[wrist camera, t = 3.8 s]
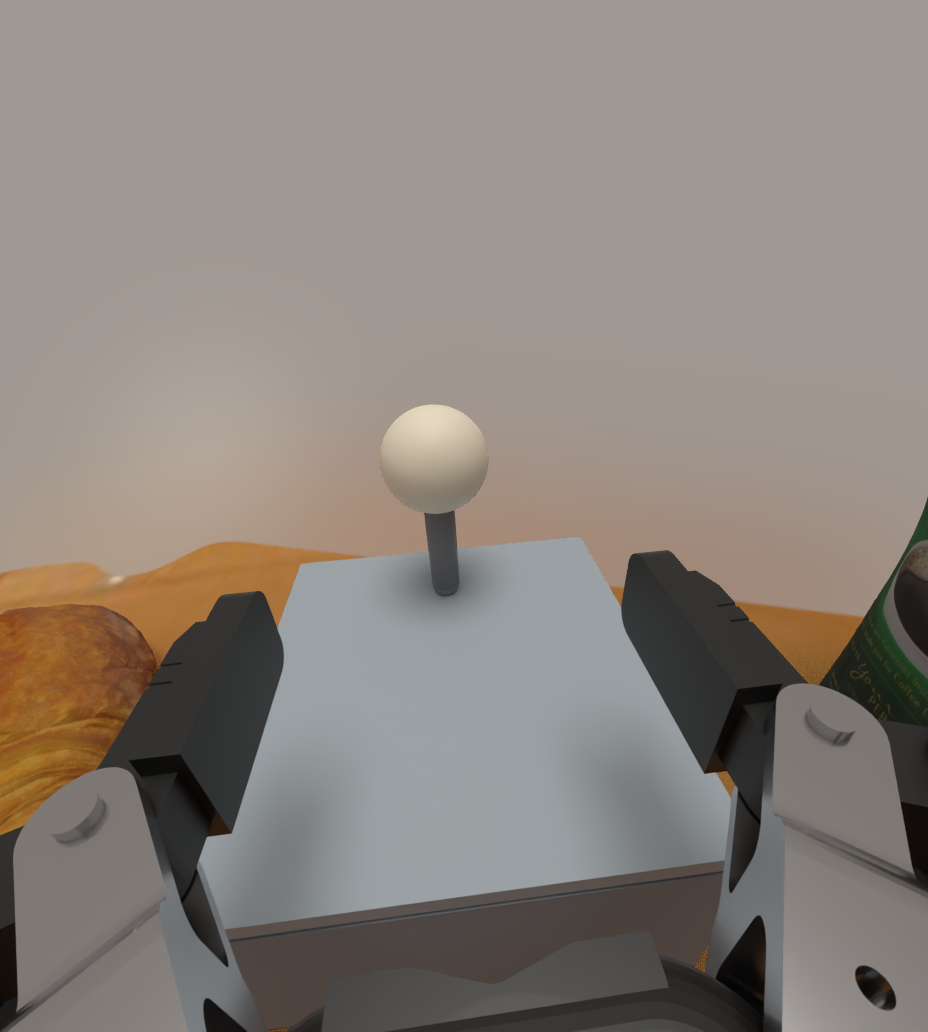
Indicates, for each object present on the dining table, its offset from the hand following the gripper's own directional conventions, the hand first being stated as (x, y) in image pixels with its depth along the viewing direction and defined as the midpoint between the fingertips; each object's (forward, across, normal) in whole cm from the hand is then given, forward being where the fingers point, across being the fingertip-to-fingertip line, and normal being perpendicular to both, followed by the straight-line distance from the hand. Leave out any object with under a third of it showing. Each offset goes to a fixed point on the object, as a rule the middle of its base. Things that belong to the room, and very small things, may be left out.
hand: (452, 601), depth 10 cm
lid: (+4, 0, +7) cm, 8 cm away
